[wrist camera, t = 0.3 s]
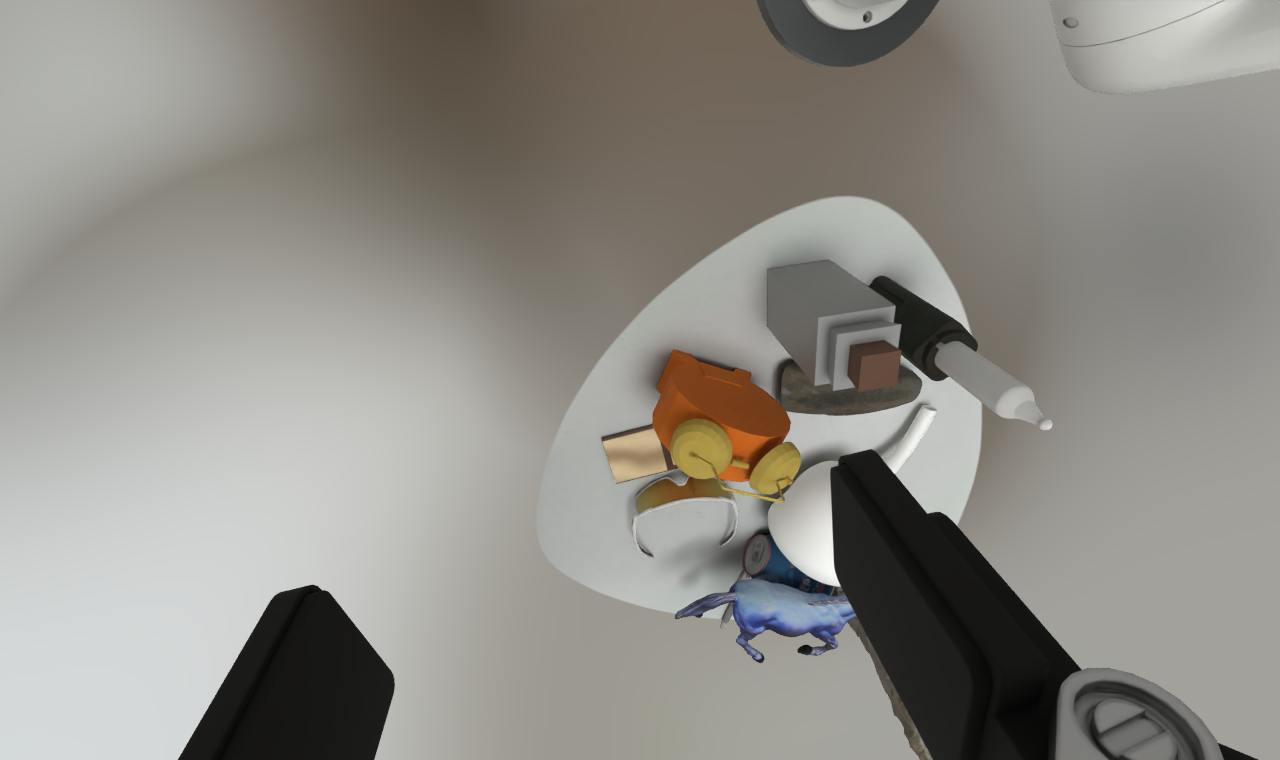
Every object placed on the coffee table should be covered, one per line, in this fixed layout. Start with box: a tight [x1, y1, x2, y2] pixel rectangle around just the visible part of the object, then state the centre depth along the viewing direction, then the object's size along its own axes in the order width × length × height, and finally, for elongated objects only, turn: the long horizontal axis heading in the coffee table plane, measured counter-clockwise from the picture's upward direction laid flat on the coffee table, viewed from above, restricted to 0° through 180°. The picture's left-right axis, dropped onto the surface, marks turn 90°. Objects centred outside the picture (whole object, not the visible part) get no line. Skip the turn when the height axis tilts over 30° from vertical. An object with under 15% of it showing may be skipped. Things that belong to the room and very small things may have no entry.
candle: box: [869, 276, 1052, 430], centre depth 49 cm, size 5×5×25 cm
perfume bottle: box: [767, 260, 902, 392], centre depth 50 cm, size 7×7×18 cm
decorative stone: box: [780, 362, 922, 416], centre depth 63 cm, size 17×6×4 cm, turn 89°
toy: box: [675, 579, 856, 663], centre depth 69 cm, size 8×28×15 cm
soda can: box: [743, 534, 835, 596], centre depth 75 cm, size 7×7×12 cm
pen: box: [721, 571, 751, 629], centre depth 82 cm, size 1×14×1 cm
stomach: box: [768, 405, 937, 587], centre depth 68 cm, size 23×13×24 cm
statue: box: [831, 586, 933, 760], centre depth 68 cm, size 8×7×30 cm
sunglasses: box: [632, 476, 738, 558], centre depth 71 cm, size 14×15×5 cm
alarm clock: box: [653, 350, 801, 503], centre depth 54 cm, size 13×6×20 cm, turn 69°
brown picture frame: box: [602, 424, 678, 484], centre depth 66 cm, size 7×14×1 cm, turn 103°
